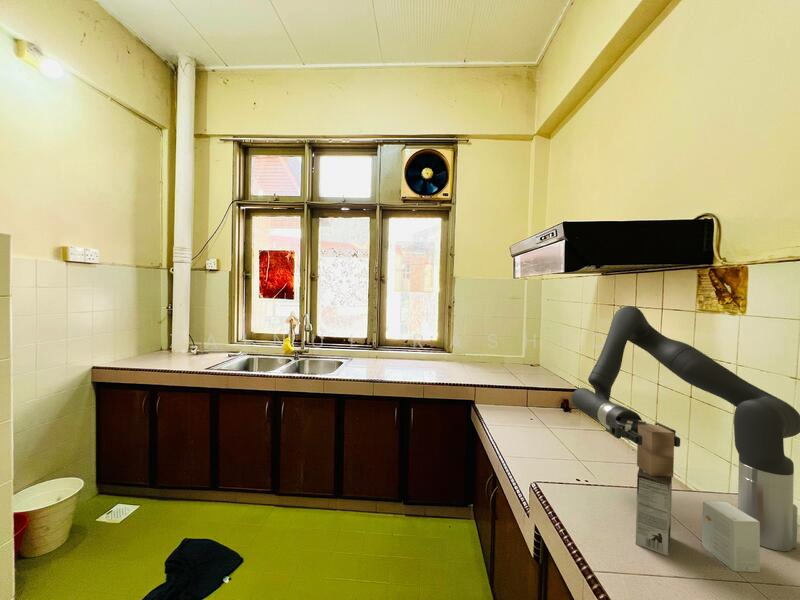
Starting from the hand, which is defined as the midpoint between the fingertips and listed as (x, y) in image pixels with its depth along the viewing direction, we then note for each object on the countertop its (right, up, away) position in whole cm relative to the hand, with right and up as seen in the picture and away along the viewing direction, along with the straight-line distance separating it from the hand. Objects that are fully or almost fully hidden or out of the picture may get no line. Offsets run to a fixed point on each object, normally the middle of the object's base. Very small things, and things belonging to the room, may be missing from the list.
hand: (659, 441), depth 82 cm
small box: (+12, -24, -4) cm, 27 cm away
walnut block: (0, -7, +1) cm, 8 cm away
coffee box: (-1, -24, +1) cm, 24 cm away
